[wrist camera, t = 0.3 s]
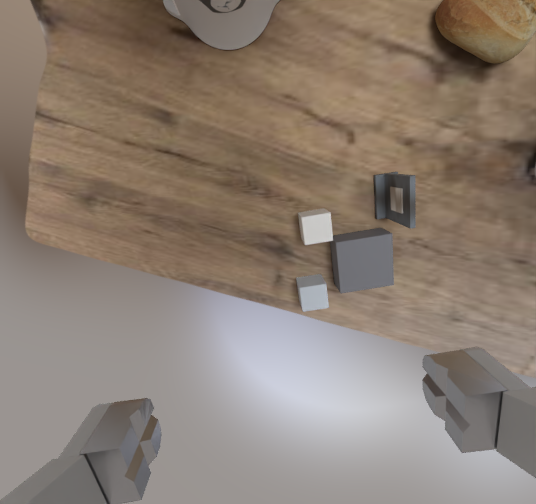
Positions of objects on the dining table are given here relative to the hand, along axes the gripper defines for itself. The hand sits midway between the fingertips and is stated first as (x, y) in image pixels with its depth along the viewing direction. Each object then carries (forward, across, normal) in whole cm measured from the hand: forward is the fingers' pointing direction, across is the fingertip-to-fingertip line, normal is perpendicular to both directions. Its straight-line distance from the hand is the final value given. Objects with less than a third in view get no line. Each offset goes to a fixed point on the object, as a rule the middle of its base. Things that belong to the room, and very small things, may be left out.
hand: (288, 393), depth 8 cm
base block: (+46, -16, +14) cm, 51 cm away
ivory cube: (+46, -8, +6) cm, 47 cm away
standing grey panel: (+46, -22, +3) cm, 51 cm away
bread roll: (+46, -37, -21) cm, 63 cm away
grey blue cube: (+46, -6, +19) cm, 50 cm away
